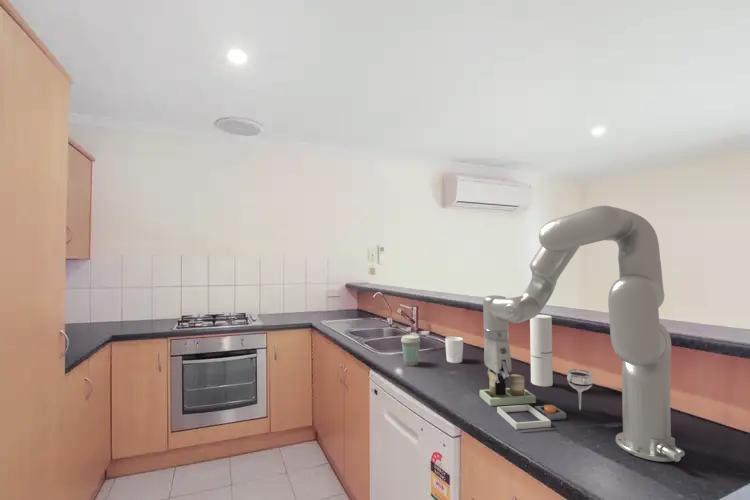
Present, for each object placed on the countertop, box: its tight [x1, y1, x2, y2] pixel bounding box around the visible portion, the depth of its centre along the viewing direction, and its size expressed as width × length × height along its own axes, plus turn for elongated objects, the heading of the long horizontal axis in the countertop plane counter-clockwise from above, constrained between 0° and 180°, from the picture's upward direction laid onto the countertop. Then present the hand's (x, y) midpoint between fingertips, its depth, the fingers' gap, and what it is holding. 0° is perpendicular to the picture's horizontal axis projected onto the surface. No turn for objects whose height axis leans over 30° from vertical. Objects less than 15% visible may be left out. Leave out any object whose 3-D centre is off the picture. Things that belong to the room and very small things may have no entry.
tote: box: [496, 404, 552, 432], centre depth 106 cm, size 11×10×2 cm
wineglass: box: [566, 368, 594, 411], centre depth 112 cm, size 7×7×12 cm
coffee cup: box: [400, 334, 421, 367], centre depth 163 cm, size 8×8×12 cm
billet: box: [488, 371, 504, 398], centre depth 120 cm, size 4×4×7 cm
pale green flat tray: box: [479, 387, 537, 407], centre depth 120 cm, size 8×15×3 cm, turn 98°
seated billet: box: [509, 374, 525, 396], centre depth 121 cm, size 4×4×7 cm
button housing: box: [534, 404, 567, 421], centre depth 108 cm, size 6×6×2 cm
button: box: [543, 404, 557, 413], centre depth 108 cm, size 3×3×3 cm
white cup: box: [444, 336, 464, 364], centre depth 167 cm, size 8×8×10 cm
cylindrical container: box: [529, 314, 554, 388], centre depth 135 cm, size 7×7×25 cm
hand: (496, 391), depth 120 cm, fingers closed on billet, 4 cm apart
